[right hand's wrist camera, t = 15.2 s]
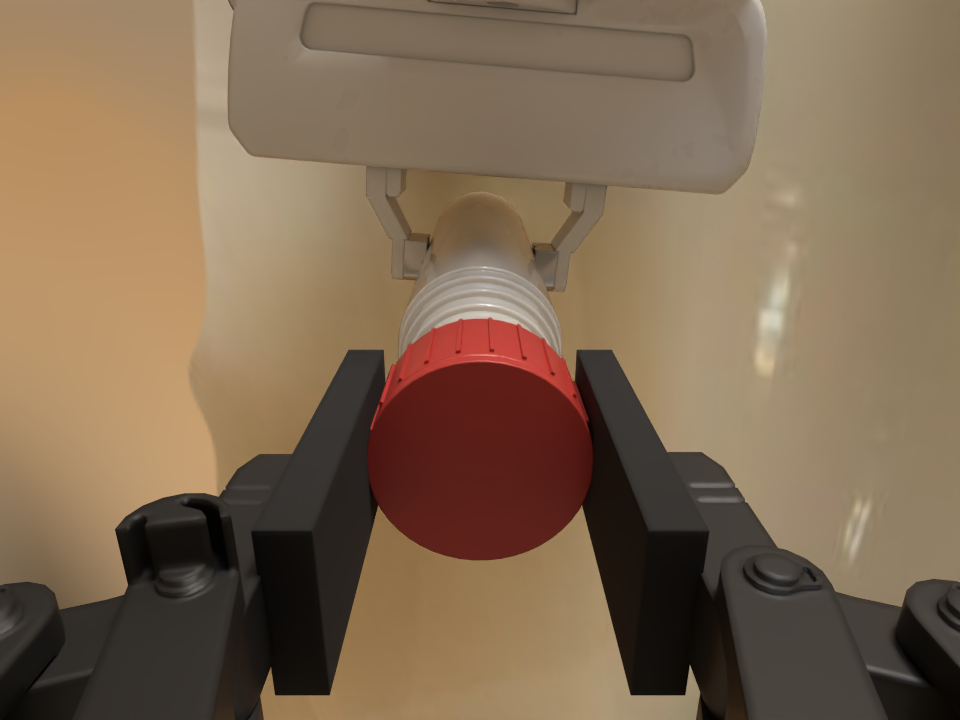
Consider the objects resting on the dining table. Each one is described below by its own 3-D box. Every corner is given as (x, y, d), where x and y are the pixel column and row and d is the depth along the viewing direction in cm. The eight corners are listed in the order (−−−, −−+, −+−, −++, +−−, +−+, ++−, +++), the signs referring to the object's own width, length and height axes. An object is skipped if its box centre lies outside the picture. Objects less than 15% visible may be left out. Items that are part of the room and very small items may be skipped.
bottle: (528, 273, 35) (606, 542, 13) (442, 284, 35) (384, 566, 14) (519, 185, 33) (590, 329, 12) (429, 197, 33) (337, 360, 12)
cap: (600, 461, 15) (623, 528, 13) (422, 514, 16) (412, 587, 13) (546, 288, 14) (560, 326, 11) (351, 352, 14) (325, 401, 12)
